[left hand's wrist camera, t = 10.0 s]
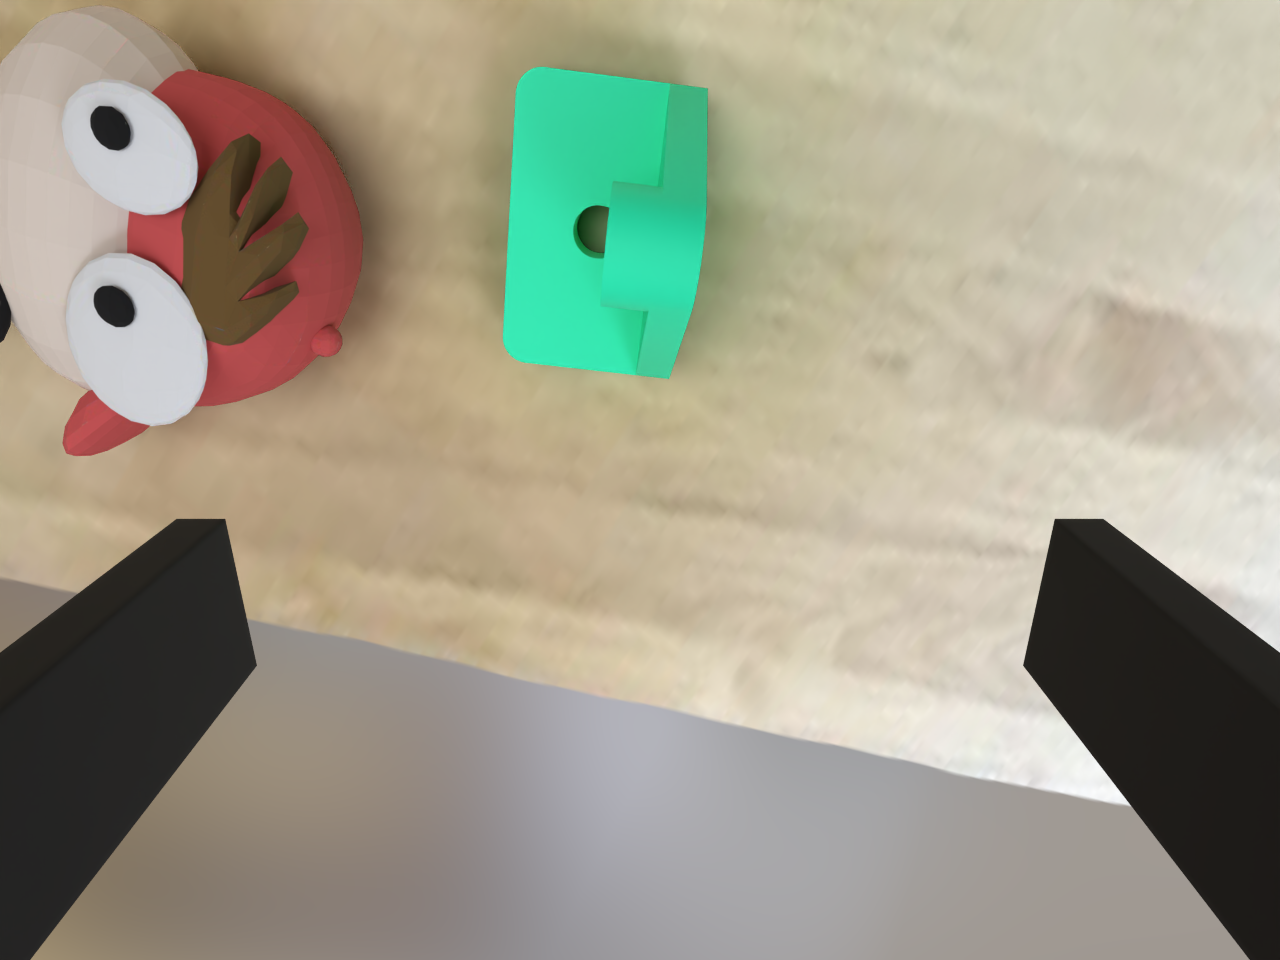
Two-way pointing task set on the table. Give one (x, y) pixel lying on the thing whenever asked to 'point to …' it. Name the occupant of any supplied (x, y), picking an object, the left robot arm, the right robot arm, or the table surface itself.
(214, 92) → the toy
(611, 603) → the table surface
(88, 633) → the left robot arm
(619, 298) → the camera mount
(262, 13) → the table surface
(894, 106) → the table surface
